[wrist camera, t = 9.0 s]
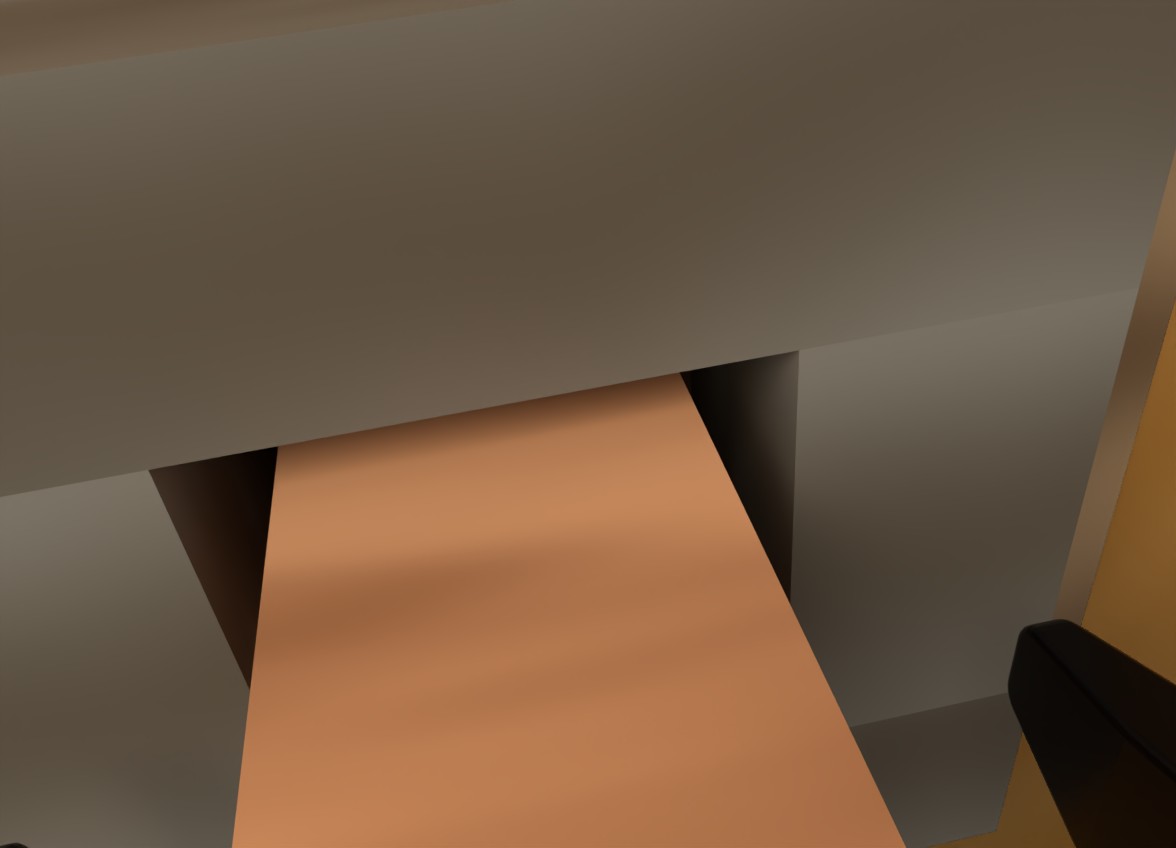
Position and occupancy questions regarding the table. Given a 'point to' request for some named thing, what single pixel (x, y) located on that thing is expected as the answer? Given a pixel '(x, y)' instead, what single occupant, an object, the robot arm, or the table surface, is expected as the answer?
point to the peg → (536, 645)
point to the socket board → (566, 329)
